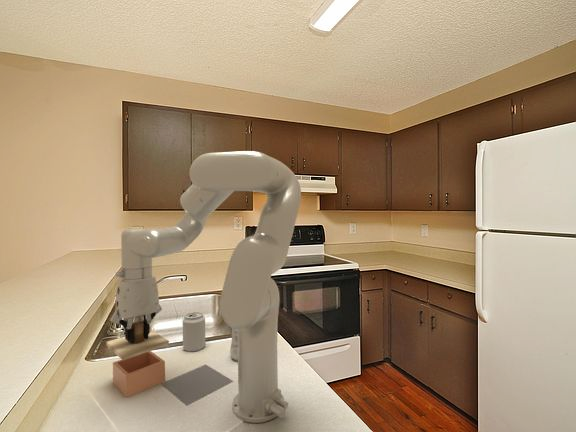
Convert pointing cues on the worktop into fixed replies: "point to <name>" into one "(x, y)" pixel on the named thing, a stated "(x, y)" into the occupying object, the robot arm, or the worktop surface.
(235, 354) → the plastic bottle
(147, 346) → the lid
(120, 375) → the pink open storage bin
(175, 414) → the worktop surface
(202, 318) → the can
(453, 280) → the worktop surface
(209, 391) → the mat
